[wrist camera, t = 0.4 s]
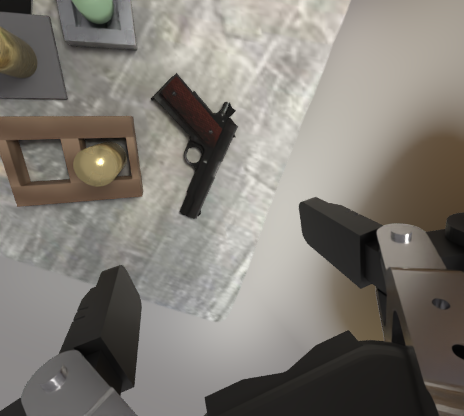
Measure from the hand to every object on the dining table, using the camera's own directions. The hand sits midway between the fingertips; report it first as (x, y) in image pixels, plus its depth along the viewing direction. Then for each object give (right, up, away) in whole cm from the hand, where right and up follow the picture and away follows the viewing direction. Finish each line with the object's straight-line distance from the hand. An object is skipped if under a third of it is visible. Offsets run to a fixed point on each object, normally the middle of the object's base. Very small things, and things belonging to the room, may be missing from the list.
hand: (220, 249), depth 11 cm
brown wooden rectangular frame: (-19, +8, +20) cm, 29 cm away
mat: (-23, +18, +16) cm, 33 cm away
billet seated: (-16, +9, +21) cm, 28 cm away
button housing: (-14, +24, +16) cm, 32 cm away
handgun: (-7, +10, +24) cm, 27 cm away
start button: (-14, +23, +14) cm, 30 cm away
